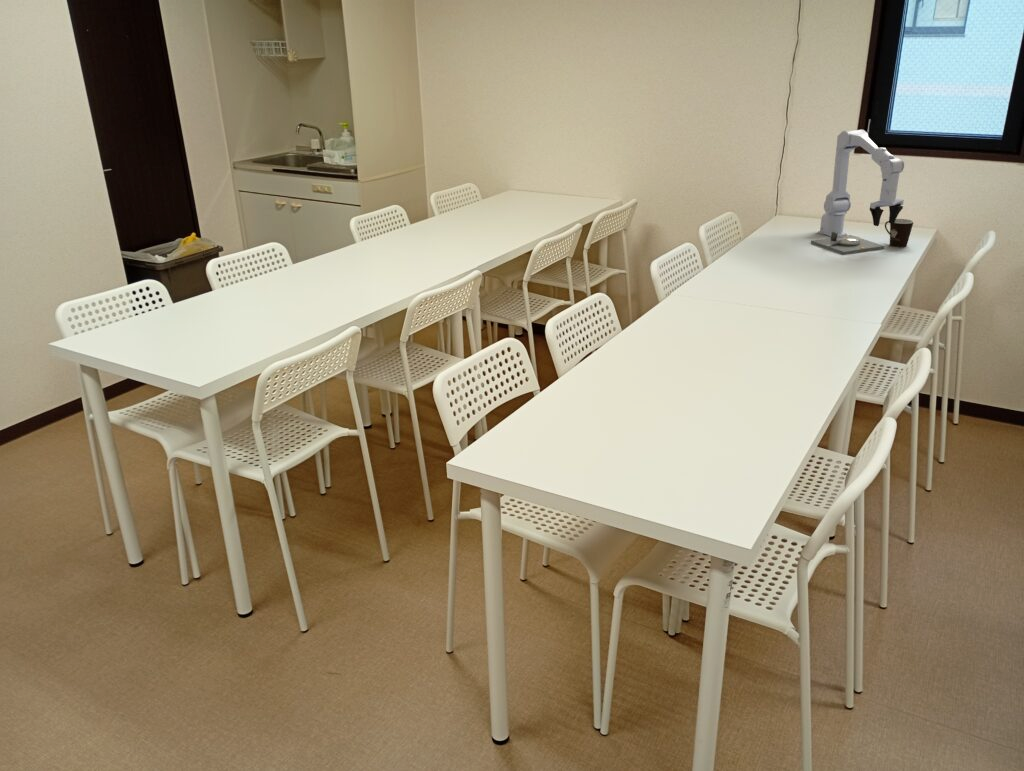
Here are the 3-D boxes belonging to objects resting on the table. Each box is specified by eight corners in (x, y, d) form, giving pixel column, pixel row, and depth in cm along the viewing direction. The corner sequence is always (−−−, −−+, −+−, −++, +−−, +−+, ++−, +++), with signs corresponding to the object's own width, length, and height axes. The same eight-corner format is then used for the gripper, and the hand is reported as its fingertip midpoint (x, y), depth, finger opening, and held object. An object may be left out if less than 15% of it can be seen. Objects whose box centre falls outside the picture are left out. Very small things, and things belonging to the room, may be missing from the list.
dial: (848, 238, 346) (850, 226, 344) (865, 244, 337) (867, 231, 335) (822, 242, 342) (824, 230, 340) (838, 248, 333) (840, 235, 331)
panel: (810, 243, 346) (811, 239, 346) (850, 237, 352) (850, 234, 352) (843, 254, 329) (843, 251, 328) (884, 248, 335) (884, 245, 334)
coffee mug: (913, 247, 335) (917, 223, 331) (891, 248, 335) (895, 223, 331) (901, 240, 345) (905, 216, 341) (880, 241, 346) (884, 217, 342)
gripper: (881, 193, 319) (876, 228, 325) (911, 190, 323) (905, 224, 329) (868, 190, 325) (863, 224, 331) (898, 187, 329) (892, 220, 335)
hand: (883, 224), depth 330 cm, fingers open, 7 cm apart
